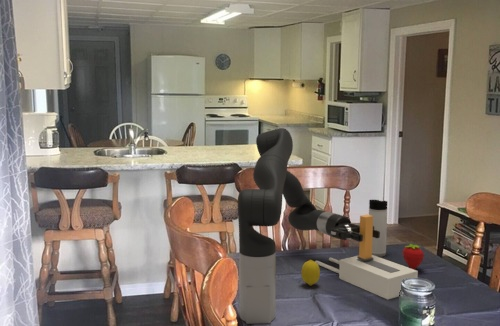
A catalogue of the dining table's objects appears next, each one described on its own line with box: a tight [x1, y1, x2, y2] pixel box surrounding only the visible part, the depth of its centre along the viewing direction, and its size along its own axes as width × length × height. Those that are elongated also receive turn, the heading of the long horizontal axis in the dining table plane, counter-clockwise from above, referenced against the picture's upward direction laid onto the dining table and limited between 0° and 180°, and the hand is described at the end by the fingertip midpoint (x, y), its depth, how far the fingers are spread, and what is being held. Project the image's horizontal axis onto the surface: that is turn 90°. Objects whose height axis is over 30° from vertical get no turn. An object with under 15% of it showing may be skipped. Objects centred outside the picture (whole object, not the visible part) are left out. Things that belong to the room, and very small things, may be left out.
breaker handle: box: [357, 214, 373, 261], centre depth 162 cm, size 4×3×14 cm
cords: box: [314, 257, 340, 274], centre depth 175 cm, size 14×7×1 cm, turn 32°
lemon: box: [301, 259, 321, 287], centre depth 159 cm, size 6×6×8 cm
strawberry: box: [402, 241, 425, 270], centre depth 172 cm, size 6×8×10 cm
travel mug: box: [368, 199, 388, 258], centre depth 188 cm, size 6×7×20 cm
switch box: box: [338, 254, 419, 301], centre depth 160 cm, size 20×12×6 cm, turn 32°
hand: (370, 236), depth 161 cm, fingers open, 6 cm apart
